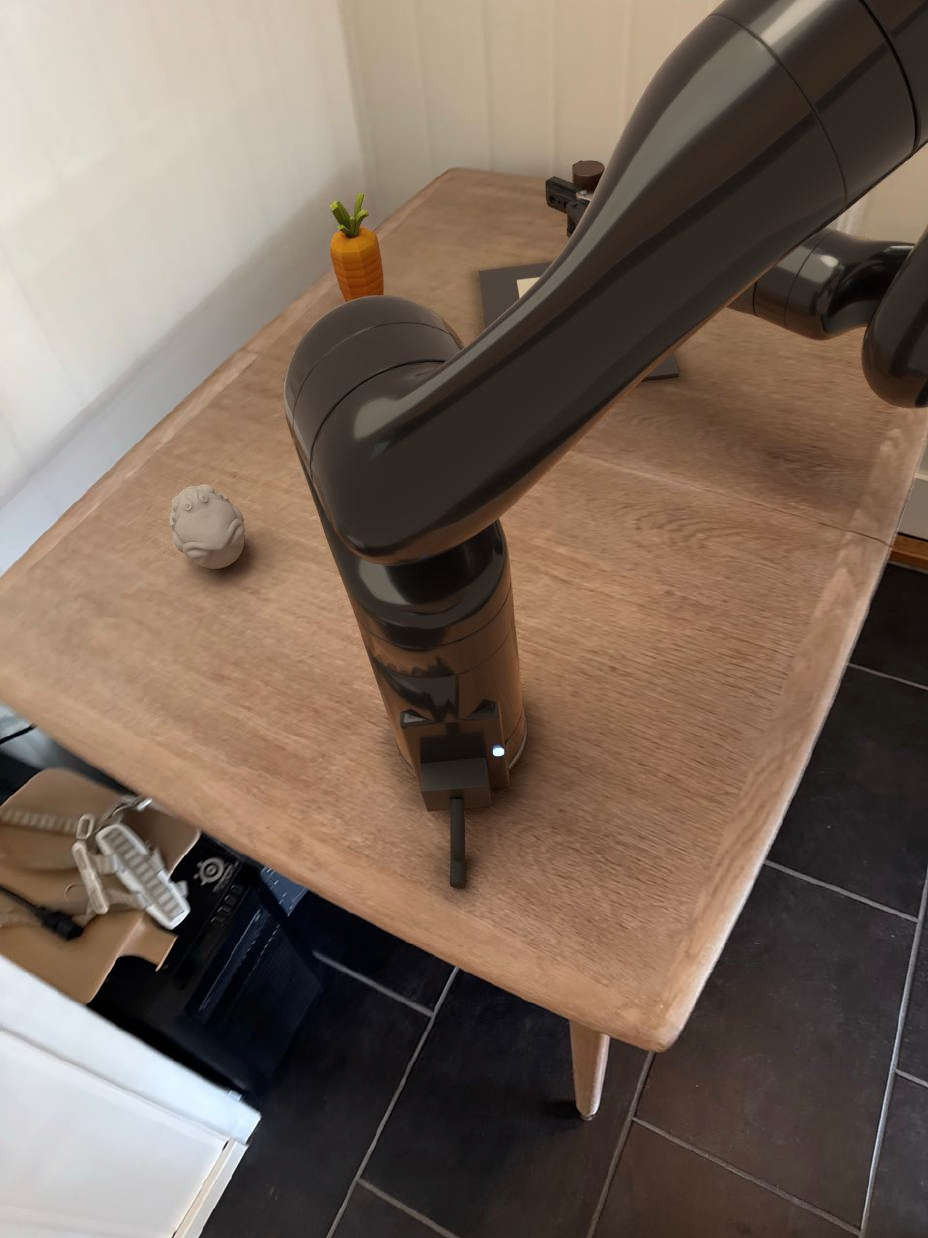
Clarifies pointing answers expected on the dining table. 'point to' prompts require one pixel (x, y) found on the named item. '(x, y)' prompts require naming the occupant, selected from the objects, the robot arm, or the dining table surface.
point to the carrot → (356, 254)
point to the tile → (514, 282)
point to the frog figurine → (207, 527)
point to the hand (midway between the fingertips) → (562, 181)
